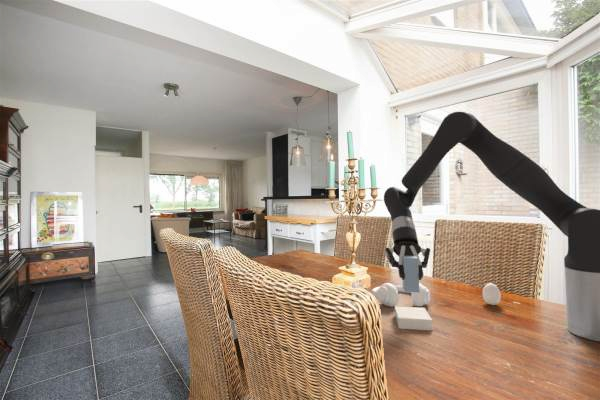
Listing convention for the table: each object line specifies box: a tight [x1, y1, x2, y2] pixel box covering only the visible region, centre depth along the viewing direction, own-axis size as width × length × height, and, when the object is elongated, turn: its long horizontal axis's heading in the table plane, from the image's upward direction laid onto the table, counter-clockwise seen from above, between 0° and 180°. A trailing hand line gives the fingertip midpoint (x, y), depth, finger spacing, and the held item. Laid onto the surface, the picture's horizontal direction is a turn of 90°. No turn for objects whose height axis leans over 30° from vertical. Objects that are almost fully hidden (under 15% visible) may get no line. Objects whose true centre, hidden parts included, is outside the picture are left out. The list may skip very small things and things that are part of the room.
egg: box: [481, 282, 502, 306], centre depth 95 cm, size 5×5×7 cm
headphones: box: [371, 282, 431, 308], centre depth 104 cm, size 20×8×20 cm
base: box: [394, 305, 433, 331], centre depth 83 cm, size 9×9×3 cm
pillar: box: [402, 256, 420, 293], centre depth 84 cm, size 4×4×10 cm
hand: (411, 278), depth 82 cm, fingers closed on pillar, 4 cm apart
